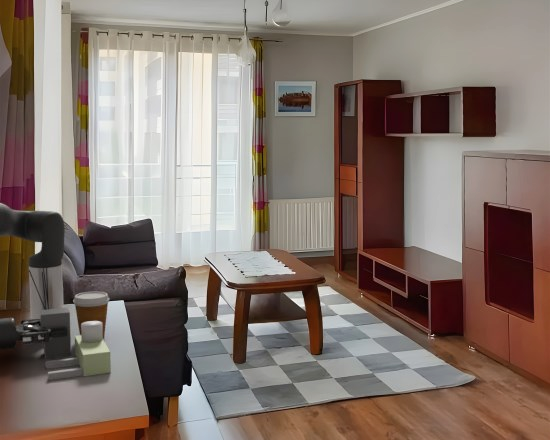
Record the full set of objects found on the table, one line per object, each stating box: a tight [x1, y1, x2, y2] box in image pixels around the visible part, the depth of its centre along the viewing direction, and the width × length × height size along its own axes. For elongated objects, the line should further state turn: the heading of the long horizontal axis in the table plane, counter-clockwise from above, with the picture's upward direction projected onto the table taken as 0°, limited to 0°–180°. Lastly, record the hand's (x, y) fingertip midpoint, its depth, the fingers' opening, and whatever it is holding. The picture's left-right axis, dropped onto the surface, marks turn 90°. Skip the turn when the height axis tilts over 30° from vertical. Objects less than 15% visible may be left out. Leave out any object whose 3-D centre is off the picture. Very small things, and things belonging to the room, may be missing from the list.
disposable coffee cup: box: [72, 291, 110, 339], centre depth 170 cm, size 10×10×12 cm
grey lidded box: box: [39, 307, 72, 359], centre depth 157 cm, size 5×7×11 cm
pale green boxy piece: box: [45, 321, 112, 381], centre depth 149 cm, size 16×14×9 cm
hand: (65, 327), depth 158 cm, fingers open, 7 cm apart
